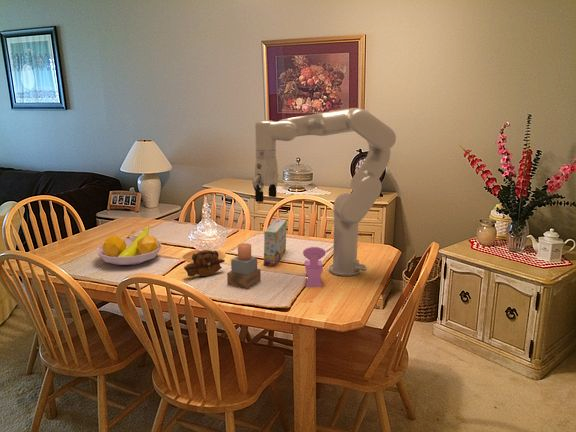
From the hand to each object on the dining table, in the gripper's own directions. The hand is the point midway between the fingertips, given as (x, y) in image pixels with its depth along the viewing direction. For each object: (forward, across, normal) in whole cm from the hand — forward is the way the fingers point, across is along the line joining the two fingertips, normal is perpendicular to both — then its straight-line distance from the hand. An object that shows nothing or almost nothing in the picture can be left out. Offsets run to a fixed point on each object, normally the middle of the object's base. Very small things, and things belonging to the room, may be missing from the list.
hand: (266, 199), depth 182 cm
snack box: (+31, +18, +6) cm, 36 cm away
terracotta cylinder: (+21, -12, +2) cm, 24 cm away
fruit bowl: (+31, -13, +59) cm, 68 cm away
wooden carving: (+31, -13, +20) cm, 39 cm away
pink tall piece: (+31, +1, -20) cm, 37 cm away
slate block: (+26, -12, +2) cm, 28 cm away
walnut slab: (+31, -12, +3) cm, 33 cm away
